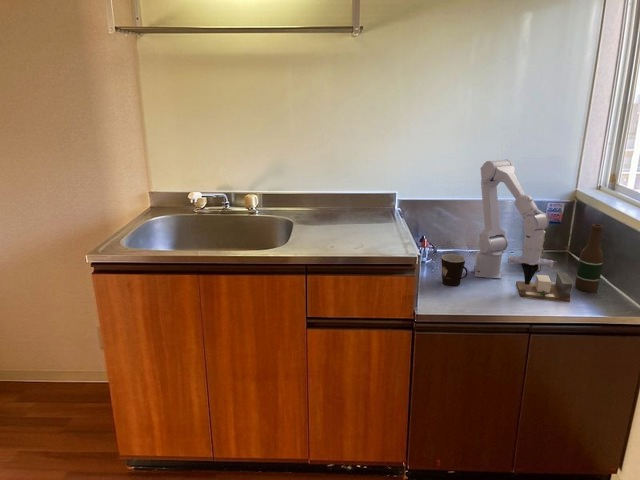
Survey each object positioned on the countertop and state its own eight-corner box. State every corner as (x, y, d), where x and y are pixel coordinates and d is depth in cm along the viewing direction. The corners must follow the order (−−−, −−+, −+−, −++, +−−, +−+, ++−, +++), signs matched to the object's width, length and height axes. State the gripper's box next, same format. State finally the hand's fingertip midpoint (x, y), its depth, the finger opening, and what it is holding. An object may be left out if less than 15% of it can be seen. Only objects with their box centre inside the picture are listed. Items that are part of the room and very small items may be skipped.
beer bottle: (578, 282, 183) (589, 220, 175) (601, 288, 177) (613, 225, 170) (570, 288, 177) (581, 225, 170) (593, 294, 172) (606, 229, 165)
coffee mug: (437, 278, 186) (439, 253, 183) (459, 278, 186) (462, 254, 183) (443, 291, 175) (445, 265, 172) (467, 291, 175) (470, 265, 172)
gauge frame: (519, 297, 170) (522, 280, 168) (516, 283, 181) (518, 268, 179) (570, 302, 167) (572, 285, 165) (563, 288, 178) (565, 272, 176)
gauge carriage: (538, 294, 169) (540, 284, 167) (534, 284, 177) (536, 274, 176) (557, 296, 167) (559, 285, 166) (552, 286, 175) (554, 276, 174)
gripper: (511, 249, 167) (506, 285, 171) (557, 253, 164) (550, 290, 168) (509, 242, 174) (504, 278, 178) (553, 246, 170) (547, 282, 174)
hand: (526, 283), depth 173 cm, fingers closed
